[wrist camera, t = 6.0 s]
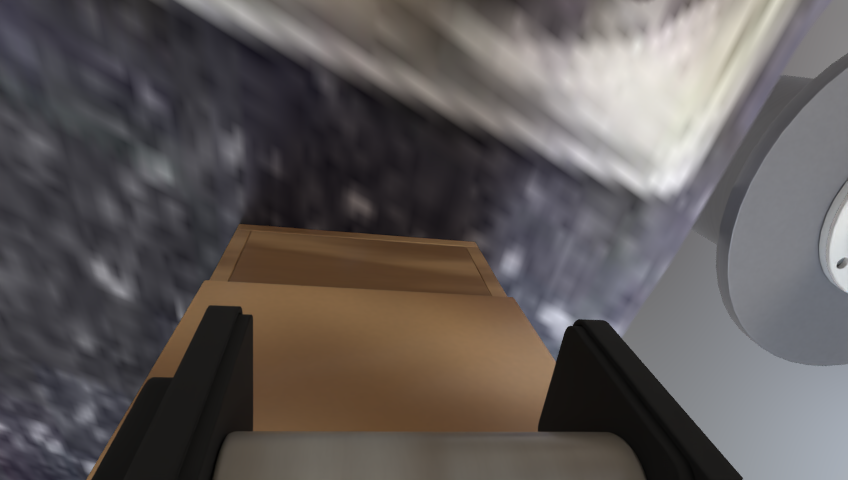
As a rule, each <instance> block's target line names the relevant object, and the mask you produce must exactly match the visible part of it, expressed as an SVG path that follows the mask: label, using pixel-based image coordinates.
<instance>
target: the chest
mask: <svg viewBox="0 0 848 480" xmlns="http://www.w3.org/2000/svg"><path fill="white" fill-rule="evenodd" d="M210 281H228V282H246V283H264V284H282V285H300V286H318V287H336V288H354V289H372V290H390V291H408V292H426V293H444V294H462V295H480V296H498V297H507V296H506V294H505V292H504V290H503V289H502V287H501V285H500V284H499V282H498V280H497V278H496V277H495V275H494V273H493V272H492V270H491V268H490V266H489V265H488V263H487V261H486V260H485V258H484V256H483V254H482V253H481V251H480V249H479V248H478V246H477V244H476V243H475V242H469V241H455V240H442V239H429V238H416V237H403V236H390V235H377V234H364V233H351V232H338V231H325V230H312V229H299V228H286V227H273V226H260V225H247V224H239V225H238V227H237V229H236V231H235V233H234V235H233V237H232V239H231V241H230V242H229V244H228V246H227V248H226V250H225V252H224V254H223V256H222V257H221V259H220V261H219V263H218V265H217V267H216V269H215V270H214V272H213V274H212V276H211V278H210Z"/></svg>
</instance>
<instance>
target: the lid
mask: <svg viewBox="0 0 848 480" xmlns="http://www.w3.org/2000/svg"><path fill="white" fill-rule="evenodd" d="M210 305H218V306H241V308H242V312H243V314H250V315H252V316H253V431H234V432H232V433H229V434H228V435H227V436H226V438H225V440H224V442H223V444H222V446H221V448H220V451H219V454H218V457H217V460H216V464H215V467H214V471H213V476H212V480H647V478H646V475H645V472H644V470H643V468H642V465H641V463H640V461H639V459H638V457H637V456H636V454H635V452H634V451H633V449H632V448H631V447H630V446H629V444H628V443H627V442H626V441H625V440H623V439H622V438H621V437H619V436H617V435H615V434H613V433H610V432H538V423H539V419H540V416H541V413H542V409H543V406H544V402H545V399H546V395H547V392H548V388H549V385H550V382H551V378H552V375H553V371H554V368H555V364H556V362H555V360H554V359H553V357H552V355H551V354H550V352H549V351H548V349H547V348H546V346H545V345H544V343H543V342H542V340H541V339H540V337H539V336H538V334H537V333H536V331H535V330H534V328H533V327H532V325H531V324H530V322H529V320H528V319H527V317H526V316H525V314H524V313H523V311H522V310H521V308H520V307H519V305H518V304H517V302H516V301H515V299H514V298H513V297H498V296H480V295H462V294H444V293H426V292H408V291H390V290H372V289H354V288H336V287H318V286H300V285H282V284H264V283H246V282H228V281H210V280H205V281H204V282H203V284H202V285H201V287H200V289H199V290H198V292H197V294H196V295H195V297H194V299H193V301H192V302H191V304H190V306H189V307H188V309H187V311H186V312H185V314H184V316H183V317H182V319H181V321H180V322H179V324H178V326H177V327H176V329H175V331H174V333H173V334H172V336H171V338H170V339H169V341H168V343H167V344H166V346H165V348H164V349H163V351H162V353H161V354H160V356H159V358H158V360H157V361H156V363H155V365H154V366H153V368H152V370H151V371H150V373H149V375H148V376H147V378H146V380H145V381H144V383H143V385H142V386H141V388H140V390H139V392H138V393H137V395H136V397H135V398H134V400H133V402H132V403H131V405H130V407H129V408H128V410H127V412H126V413H125V415H124V417H123V418H122V420H121V422H120V424H119V425H118V427H117V429H116V430H115V432H114V434H113V435H112V437H111V439H110V440H109V442H108V444H107V445H106V447H105V449H104V450H103V452H102V454H101V456H100V457H99V459H98V461H97V462H96V464H95V466H94V467H93V469H92V471H91V472H90V474H89V476H88V477H87V479H86V480H91V479H92V477H93V476H94V474H95V472H96V470H97V468H98V467H99V465H100V463H101V461H102V459H103V458H104V456H105V454H106V452H107V450H108V449H109V447H110V445H111V443H112V442H113V440H114V438H115V436H116V434H117V433H118V431H119V429H120V427H121V425H122V424H123V422H124V420H125V418H126V416H127V415H128V413H129V411H130V409H131V408H132V406H133V404H134V402H135V400H136V399H137V397H138V395H139V393H140V391H141V390H142V388H143V386H144V385H145V383H146V382H147V380H148V379H150V378H152V377H174V375H175V373H176V371H177V369H178V367H179V365H180V362H181V360H182V358H183V356H184V354H185V352H186V350H187V348H188V346H189V344H190V342H191V340H192V338H193V336H194V334H195V332H196V330H197V328H198V326H199V324H200V322H201V320H202V317H203V315H204V313H205V311H206V309H207V308H208V306H210Z"/></svg>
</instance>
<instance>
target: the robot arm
mask: <svg viewBox="0 0 848 480" xmlns="http://www.w3.org/2000/svg"><path fill="white" fill-rule="evenodd" d="M819 256H820V263H821V266H822V269H823V272H824V273H825V275H826V276H827V278H828V279H829V281H830V282H831V283H833V284H834V285H835V286H836V287H838V288H839V289H841V290H843V291H845V292H847V293H848V180H847V181H846V183H845V184H844V186H843V187H842V188H841V190H840V191H839V193H838V194H837V196H836V197H835V199H834V201H833V203H832V205H831V207H830V209H829V211H828V213H827V215H826V217H825V220H824V224H823V227H822V230H821V235H820V242H819ZM234 431H253V316H252V315H250V314H243V312H242V308H241V306H218V305H210V306H208V308H207V309H206V311H205V313H204V315H203V317H202V320H201V322H200V324H199V326H198V328H197V330H196V332H195V334H194V336H193V338H192V340H191V342H190V344H189V346H188V348H187V350H186V352H185V354H184V356H183V358H182V360H181V362H180V365H179V367H178V369H177V371H176V373H175V375H174V377H152V378H150V379H148V380H147V382H146V383H145V385H144V386H143V388H142V390H141V391H140V393H139V395H138V397H137V399H136V400H135V402H134V404H133V406H132V408H131V409H130V411H129V413H128V415H127V416H126V418H125V420H124V422H123V424H122V425H121V427H120V429H119V431H118V433H117V434H116V436H115V438H114V440H113V442H112V443H111V445H110V447H109V449H108V450H107V452H106V454H105V456H104V458H103V459H102V461H101V463H100V465H99V467H98V468H97V470H96V472H95V474H94V476H93V477H92V479H91V480H212V476H213V471H214V467H215V464H216V460H217V457H218V454H219V451H220V448H221V446H222V444H223V442H224V440H225V438H226V436H227V435H228V434H229V433H232V432H234ZM538 432H610V433H613V434H615V435H617V436H619V437H621V438H622V439H623V440H625V441H626V442H627V443H628V444H629V446H630V447H631V448H632V449H633V451H634V452H635V454H636V456H637V457H638V459H639V461H640V463H641V465H642V468H643V470H644V472H645V475H646V478H647V480H742V479H743V478H742V477H741V476H740V474H739V473H738V472H737V471H736V470H735V469H734V468H733V466H732V465H731V464H730V463H729V462H728V460H727V459H726V458H725V457H724V456H723V455H722V454H721V452H720V451H719V450H718V449H717V448H716V447H715V446H714V444H713V443H712V442H711V441H710V440H709V439H708V437H707V436H706V435H705V434H704V433H703V432H702V431H701V429H700V428H699V427H698V426H697V425H696V424H695V423H694V421H693V420H692V419H691V418H690V417H689V416H688V415H687V413H686V412H685V411H684V410H683V409H682V408H681V406H680V405H679V404H678V403H677V402H676V401H675V399H674V398H673V397H672V396H671V395H670V394H669V393H668V392H667V390H666V389H665V388H664V387H663V386H662V384H661V383H660V382H659V381H658V380H657V379H656V378H655V376H654V375H653V374H652V373H651V372H650V371H649V369H648V368H647V367H646V366H645V365H644V364H643V363H642V362H641V360H640V359H639V358H638V357H637V356H636V354H635V353H634V352H633V351H632V350H631V349H630V348H629V346H628V345H627V344H626V343H625V342H624V341H623V340H622V338H621V337H620V336H619V335H618V334H617V333H616V331H615V330H614V329H613V328H612V327H611V326H610V325H609V323H607V322H606V321H603V320H580V319H579V320H577V321H575V323H574V324H573V326H569V327H568V328H567V329H566V331H565V333H564V337H563V340H562V344H561V347H560V351H559V354H558V357H557V361H556V364H555V368H554V371H553V375H552V378H551V382H550V385H549V388H548V392H547V395H546V399H545V402H544V406H543V409H542V413H541V416H540V419H539V423H538Z"/></svg>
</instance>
